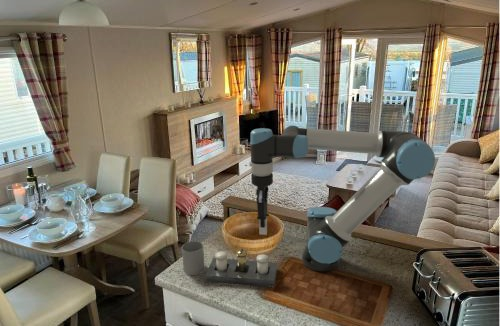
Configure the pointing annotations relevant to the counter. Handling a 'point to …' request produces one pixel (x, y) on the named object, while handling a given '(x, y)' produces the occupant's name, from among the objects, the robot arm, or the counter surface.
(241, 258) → the brass slotted knob
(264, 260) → the knob
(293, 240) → the counter surface
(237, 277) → the panel
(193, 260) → the cup
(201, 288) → the counter surface
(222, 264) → the knob
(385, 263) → the counter surface
